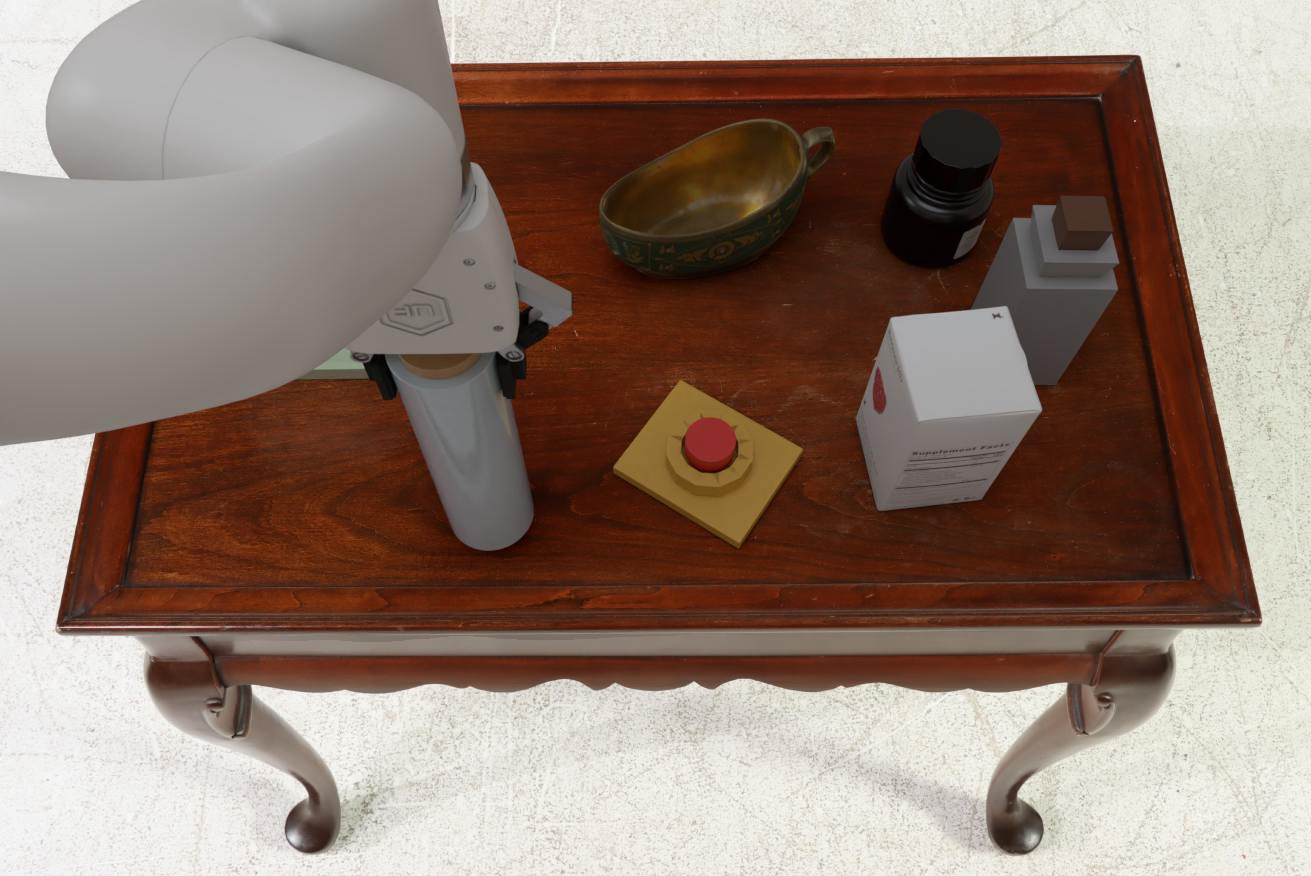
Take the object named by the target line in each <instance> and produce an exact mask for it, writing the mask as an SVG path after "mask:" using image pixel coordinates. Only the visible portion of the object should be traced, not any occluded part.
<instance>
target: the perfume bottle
mask: <svg viewBox="0 0 1311 876" xmlns="http://www.w3.org/2000/svg"><path fill="white" fill-rule="evenodd" d="M1113 232H1114V227H1113V223H1112V220H1111V215H1110V211H1109V207H1108V203H1107V200H1106V196H1103V195H1097V196H1096V195H1059V197H1058V200H1057V203H1056V205H1054V204H1053V205H1052V204H1049V205H1048V204H1033V205H1032V207H1031V217H1013V218H1012V219H1011V222H1010V224H1009V226H1008V228H1007V229H1006V232H1005V235H1004V236H1003V239H1002V241H1001V243H1000V245H999V248H998V250H997V252H996V254H995V255H994V256H995V257H994V258H993V260H992V263H991V264H990V266H989V269H988V272H987V273H986V276H985V278H984V280H983V282H982V284H981V287H980V288H979V291H978V293H977V295H976V297H975V299H974V301H973V303H972V306H971V308H970V310H975V309H985V308H994V307H1002V306H1007V307H1008V309H1009V312H1010V315H1011V318H1012V321H1013V324H1014V327H1015V330H1016V333H1017V336H1018V339H1019V342H1020V345H1021V347H1022V349H1023V351H1024V353H1025V356H1026V359H1027V365H1028V369H1029V372H1030V375H1031V378H1032V380H1033V383H1034V386H1056V385H1057V383H1058V382H1059V380H1061V378H1062V376H1063V375H1064V373H1065V371H1066V370H1067V368H1068V367H1069V365H1070V364H1071V363H1072V361H1073V359H1074V358H1075V356H1076V355H1077V353H1078V352H1079V351H1080V349H1081V348H1082V346H1083V344H1084V342H1085V341H1086V340H1087V338H1088V336H1089V335H1090V334H1091V332H1092V330H1093V329H1094V327H1095V326H1096V324H1097V323H1098V321H1099V320H1100V318H1101V317H1102V315H1103V313H1105V310H1106V309H1107V307H1108V306H1109V304H1110V303H1111V301H1112V300H1113V298H1114V297H1115V295H1116V294H1117V292H1118V290H1119V287H1118V284H1117V279H1116V276H1115V272H1114V268H1115V267H1117V266H1118V265H1119V264H1120V260H1119V257H1118V252H1117V249H1116V245H1115V241H1114V237H1113Z"/></svg>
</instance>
